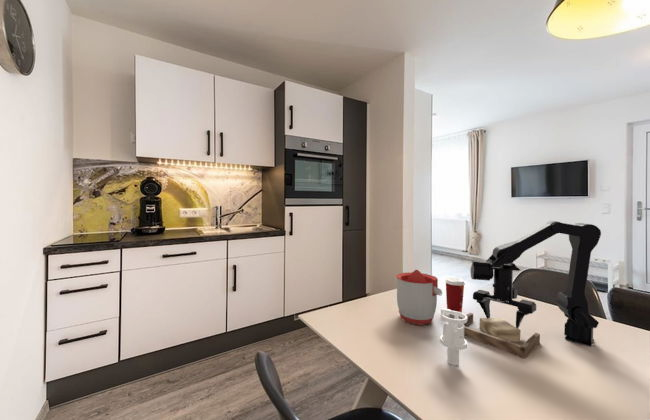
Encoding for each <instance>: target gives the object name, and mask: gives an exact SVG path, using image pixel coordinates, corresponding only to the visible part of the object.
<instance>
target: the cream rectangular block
mask: <svg viewBox="0 0 650 420" xmlns="http://www.w3.org/2000/svg"><path fill="white" fill-rule="evenodd" d="M479 328H480V329H481V330H482V332H484V331H485V332H484V333H486V334H489V335H492V336H495V337H498V338H501V339H503V340H506V341H509V342H521V329H519V328H516V326H514V325H513V324H511V323H510V322H508V321H506V320H505V319H503V318H502V317H501V318H500V317H490V318H487V317H479Z"/></svg>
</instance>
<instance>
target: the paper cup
mask: <svg viewBox="0 0 650 420" xmlns="http://www.w3.org/2000/svg"><path fill="white" fill-rule="evenodd" d="M444 283H445V295H446V297H445V299H446V309H450V310H452V311H457V312H461V313H463V304H464V303H463V302H464V291H465V285H466V284H465V280H464V279H462V278H458V277H446V278H445V281H444Z"/></svg>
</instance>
